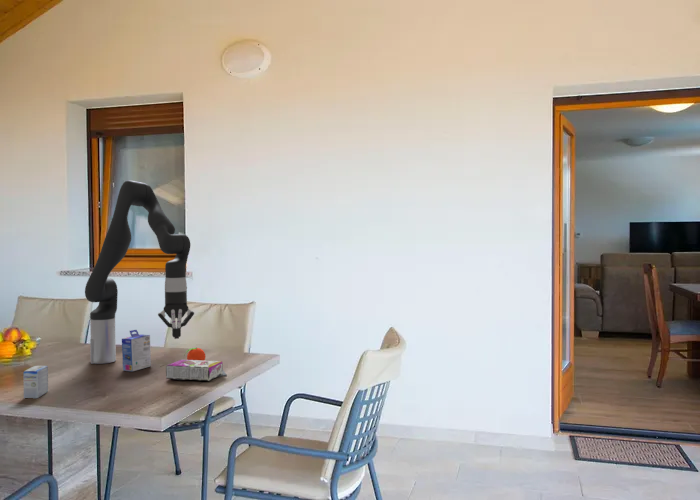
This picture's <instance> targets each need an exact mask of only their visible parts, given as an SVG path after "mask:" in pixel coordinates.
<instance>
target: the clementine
mask: <svg viewBox="0 0 700 500" xmlns="http://www.w3.org/2000/svg"><path fill="white" fill-rule="evenodd" d="M185 355H186V354H184V356H185ZM186 360H202V361H206V353H205V351H204V350H203V349H202V348H199V347H192V348H189V349H187V356H186Z"/></svg>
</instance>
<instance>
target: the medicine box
mask: <svg viewBox="0 0 700 500" xmlns="http://www.w3.org/2000/svg"><path fill="white" fill-rule="evenodd" d="M48 392H49V366H48V365H34V366H31V367H30V368H27V369H26V370H24V371H23V399H25V398H33V399H39V398H40V397H42V396H44V395H45V394H46V393H48Z"/></svg>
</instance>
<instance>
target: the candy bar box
mask: <svg viewBox="0 0 700 500" xmlns="http://www.w3.org/2000/svg"><path fill="white" fill-rule="evenodd" d="M223 366H224V365H223V361H221V360H205V361H202V360H187V359H179V360H177V361H175V362H171V363H169V364H166V365H165V379H166V380H167V379H170V380H177V379H184V380H183V381H185V380H188V381H189V380H190V381H205V382H206V381H208V382H209V381H212V380H213V379H215V378H218V376H220V375H222V369H223ZM223 370H224V369H223Z"/></svg>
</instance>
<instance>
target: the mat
mask: <svg viewBox="0 0 700 500" xmlns="http://www.w3.org/2000/svg"><path fill="white" fill-rule="evenodd" d="M227 376H228V375H227V373H226V372H225V370H224V369H222V375H220V376H218V377H219V378H220V377H227ZM218 377H217V378H218ZM176 381H185V380H184V379H176Z"/></svg>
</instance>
